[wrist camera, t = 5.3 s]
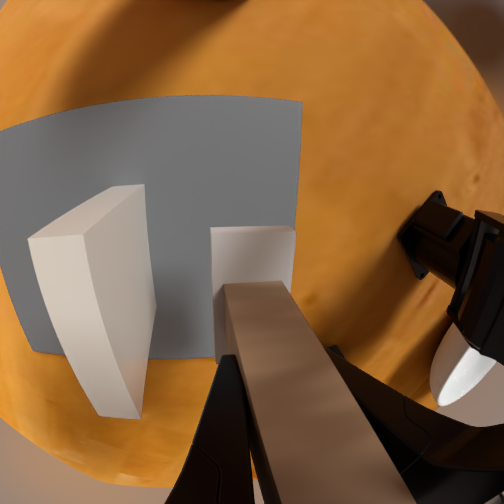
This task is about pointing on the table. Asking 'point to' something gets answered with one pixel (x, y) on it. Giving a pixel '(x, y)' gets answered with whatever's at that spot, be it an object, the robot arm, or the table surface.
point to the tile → (101, 295)
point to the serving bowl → (456, 368)
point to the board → (151, 195)
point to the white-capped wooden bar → (291, 381)
